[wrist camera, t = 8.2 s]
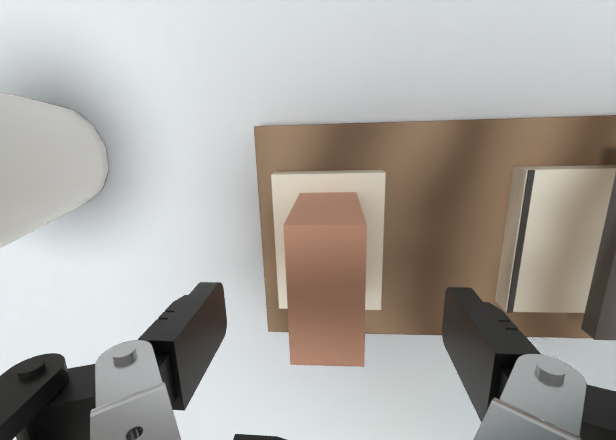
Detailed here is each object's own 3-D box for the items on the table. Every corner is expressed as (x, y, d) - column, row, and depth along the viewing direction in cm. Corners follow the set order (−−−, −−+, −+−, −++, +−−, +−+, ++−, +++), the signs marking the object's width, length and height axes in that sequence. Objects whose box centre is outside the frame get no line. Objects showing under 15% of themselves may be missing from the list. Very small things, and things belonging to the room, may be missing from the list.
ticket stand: (660, 114, 18) (743, 111, 14) (608, 324, 22) (664, 365, 18) (259, 126, 20) (242, 126, 16) (272, 318, 23) (260, 354, 20)
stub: (382, 169, 18) (411, 196, 11) (378, 299, 21) (400, 388, 14) (274, 171, 19) (240, 198, 12) (282, 298, 21) (256, 383, 14)
